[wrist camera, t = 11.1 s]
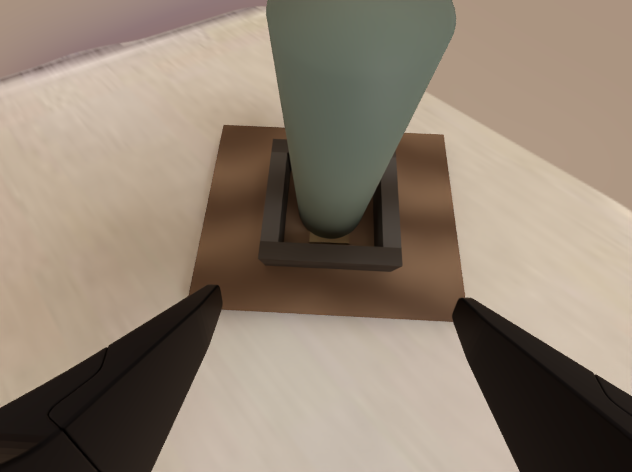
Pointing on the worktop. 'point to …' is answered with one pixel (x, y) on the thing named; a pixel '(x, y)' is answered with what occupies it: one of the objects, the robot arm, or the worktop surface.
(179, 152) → the worktop surface
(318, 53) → the grey-green canister
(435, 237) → the walnut seat board
